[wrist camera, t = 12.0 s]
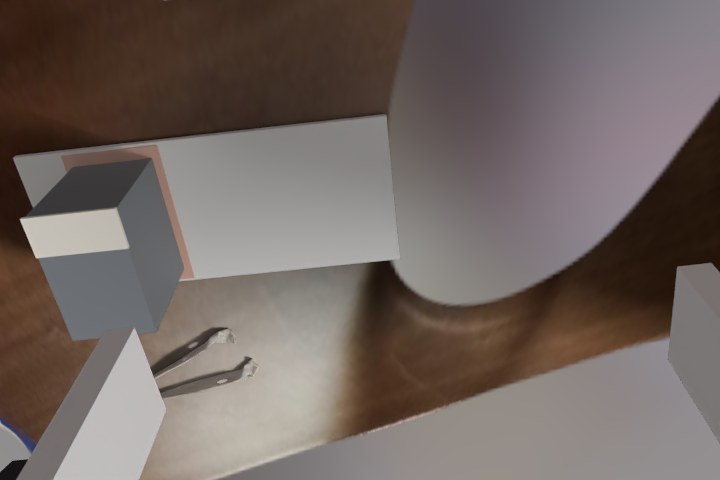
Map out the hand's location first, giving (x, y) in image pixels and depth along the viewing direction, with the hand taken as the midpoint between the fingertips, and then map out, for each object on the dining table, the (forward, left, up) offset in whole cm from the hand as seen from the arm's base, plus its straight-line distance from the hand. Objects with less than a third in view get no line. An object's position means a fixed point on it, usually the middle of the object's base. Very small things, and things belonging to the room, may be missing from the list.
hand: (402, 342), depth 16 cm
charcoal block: (+17, +8, -25) cm, 31 cm away
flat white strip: (+11, +8, -25) cm, 28 cm away
